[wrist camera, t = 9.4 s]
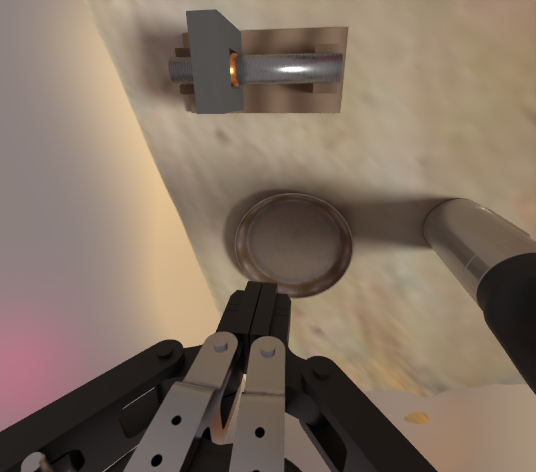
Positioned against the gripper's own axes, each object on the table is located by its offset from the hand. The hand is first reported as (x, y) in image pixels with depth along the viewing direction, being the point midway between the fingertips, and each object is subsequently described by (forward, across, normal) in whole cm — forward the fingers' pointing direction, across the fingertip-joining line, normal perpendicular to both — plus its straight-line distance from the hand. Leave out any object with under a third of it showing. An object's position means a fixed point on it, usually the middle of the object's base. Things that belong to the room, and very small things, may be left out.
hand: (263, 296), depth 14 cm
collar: (+31, +9, -12) cm, 35 cm away
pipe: (+29, +5, -12) cm, 31 cm away
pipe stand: (+35, +5, -12) cm, 37 cm away
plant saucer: (+36, 0, +15) cm, 39 cm away
